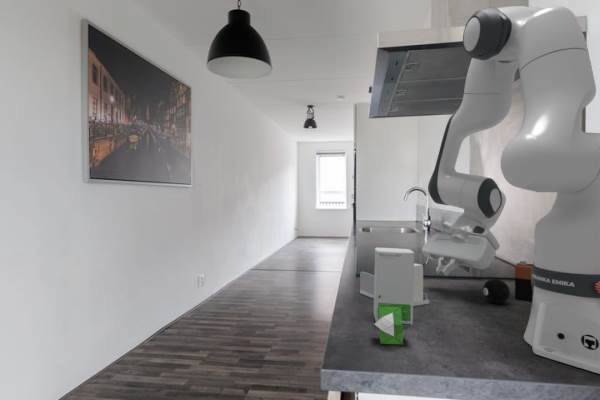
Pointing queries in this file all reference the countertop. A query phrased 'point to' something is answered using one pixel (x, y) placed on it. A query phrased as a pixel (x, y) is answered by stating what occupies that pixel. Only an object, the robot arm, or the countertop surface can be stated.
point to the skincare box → (394, 281)
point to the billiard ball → (496, 291)
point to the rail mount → (368, 288)
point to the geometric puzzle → (390, 325)
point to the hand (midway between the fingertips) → (441, 273)
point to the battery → (523, 281)
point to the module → (418, 283)
